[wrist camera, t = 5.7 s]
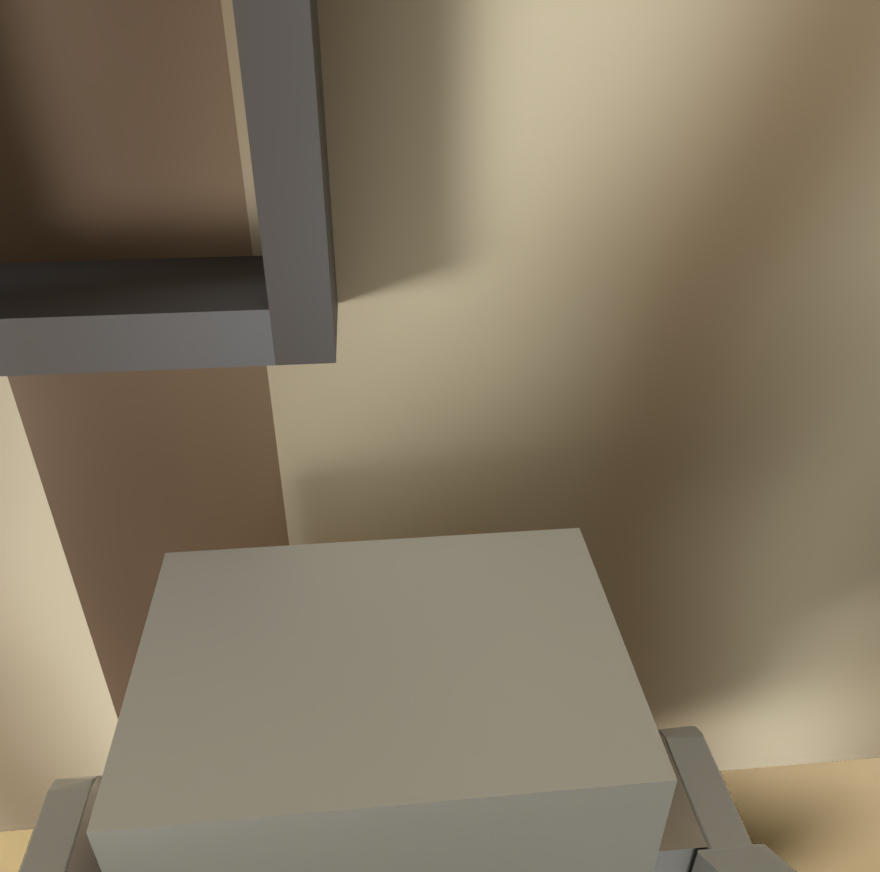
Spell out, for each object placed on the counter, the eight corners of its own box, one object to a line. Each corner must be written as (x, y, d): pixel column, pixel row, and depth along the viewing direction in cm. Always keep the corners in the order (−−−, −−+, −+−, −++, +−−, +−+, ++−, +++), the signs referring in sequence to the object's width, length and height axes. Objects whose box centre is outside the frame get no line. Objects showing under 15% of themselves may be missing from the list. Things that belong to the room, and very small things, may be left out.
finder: (165, 553, 10) (72, 882, 6) (579, 527, 10) (694, 822, 7) (232, 843, 13) (194, 1159, 10) (543, 814, 13) (608, 1108, 10)
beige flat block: (1402, -403, 8) (1832, -535, 6) (894, 702, 16) (981, 827, 14) (-663, -486, 6) (-1226, -712, 4) (-31, 774, 15) (-98, 927, 13)
